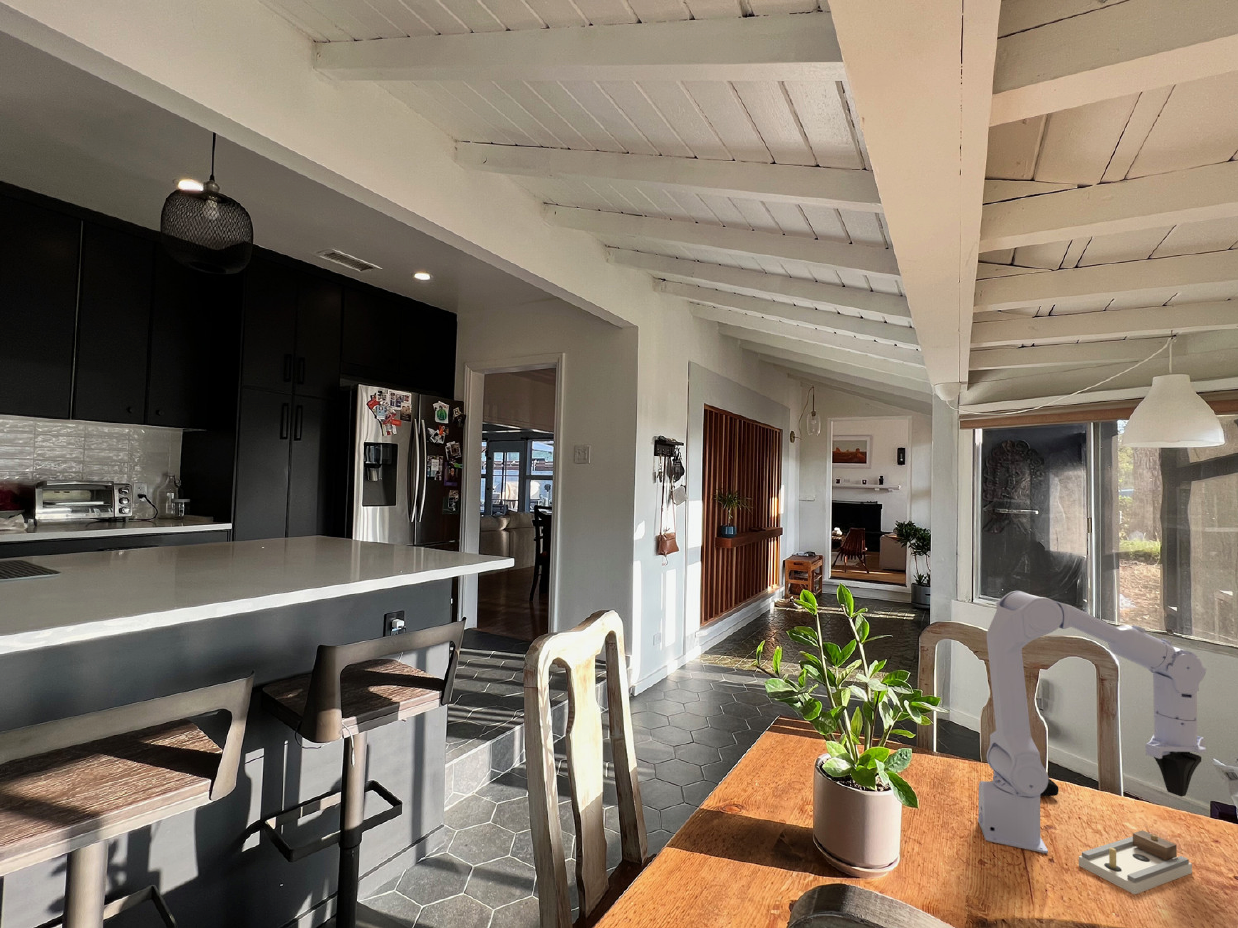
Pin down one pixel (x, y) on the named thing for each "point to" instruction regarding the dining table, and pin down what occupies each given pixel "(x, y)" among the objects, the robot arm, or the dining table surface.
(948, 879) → the dining table surface
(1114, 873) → the plate
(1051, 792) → the tape measure
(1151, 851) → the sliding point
